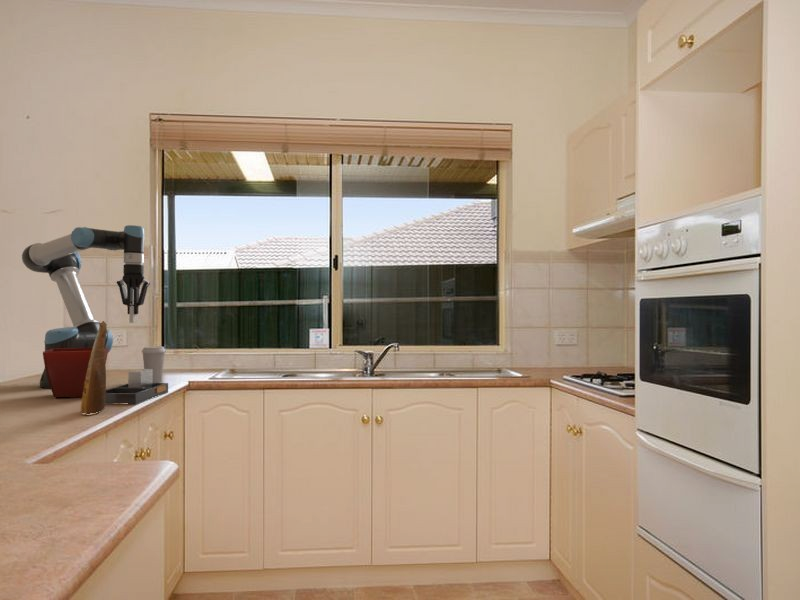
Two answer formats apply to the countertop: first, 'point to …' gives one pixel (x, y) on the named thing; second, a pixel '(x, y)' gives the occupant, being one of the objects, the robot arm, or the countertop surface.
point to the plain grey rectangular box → (140, 378)
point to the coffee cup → (154, 361)
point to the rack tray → (134, 393)
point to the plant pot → (67, 370)
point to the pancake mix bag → (95, 376)
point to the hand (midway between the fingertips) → (132, 322)
